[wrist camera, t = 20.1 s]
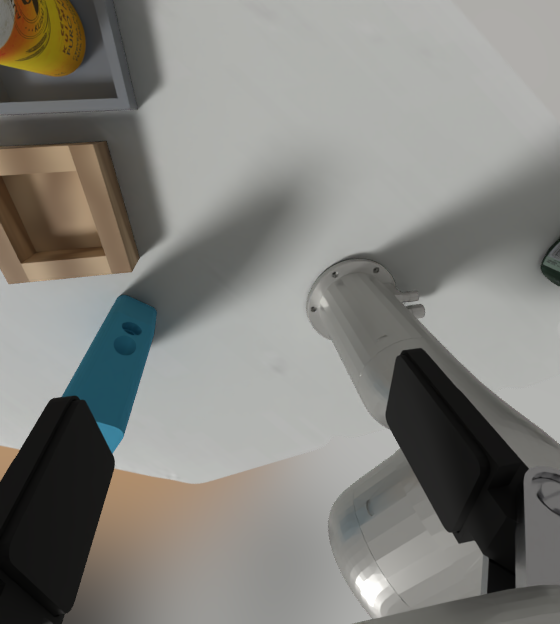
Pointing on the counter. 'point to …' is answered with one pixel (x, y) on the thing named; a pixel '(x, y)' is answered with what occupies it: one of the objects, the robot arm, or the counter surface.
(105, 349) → the block
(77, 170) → the shallow wooden box
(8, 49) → the beer can
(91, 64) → the tray
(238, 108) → the counter surface
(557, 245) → the coffee jar
